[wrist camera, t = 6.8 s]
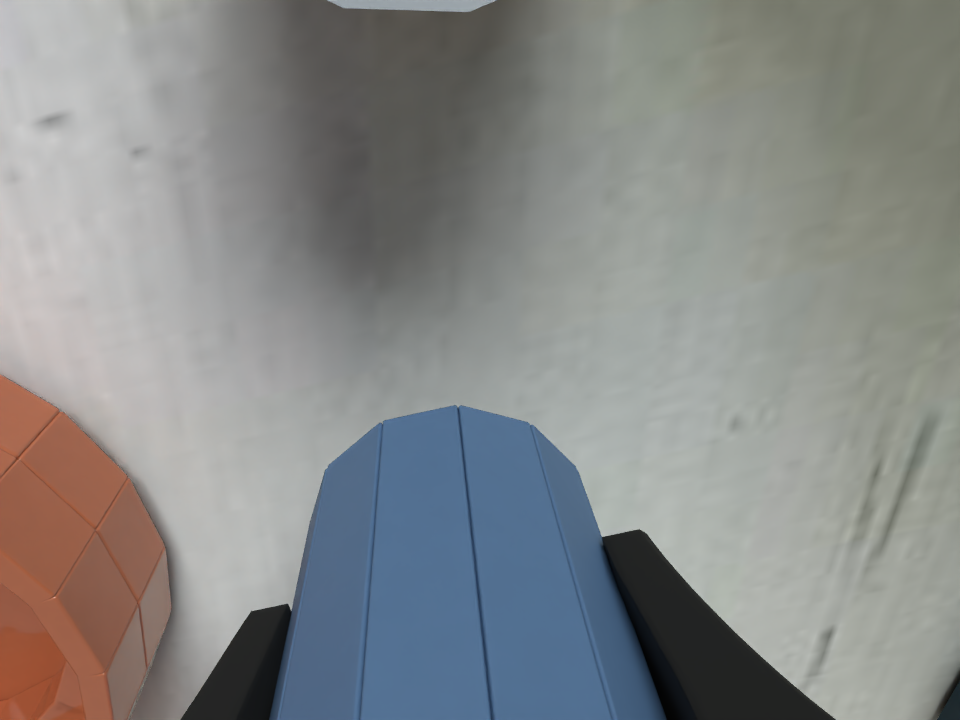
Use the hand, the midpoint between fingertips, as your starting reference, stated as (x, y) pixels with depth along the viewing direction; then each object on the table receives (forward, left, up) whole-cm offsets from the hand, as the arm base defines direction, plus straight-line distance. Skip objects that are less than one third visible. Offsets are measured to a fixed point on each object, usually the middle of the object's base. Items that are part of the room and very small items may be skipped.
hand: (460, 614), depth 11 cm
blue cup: (0, 0, -2) cm, 2 cm away
